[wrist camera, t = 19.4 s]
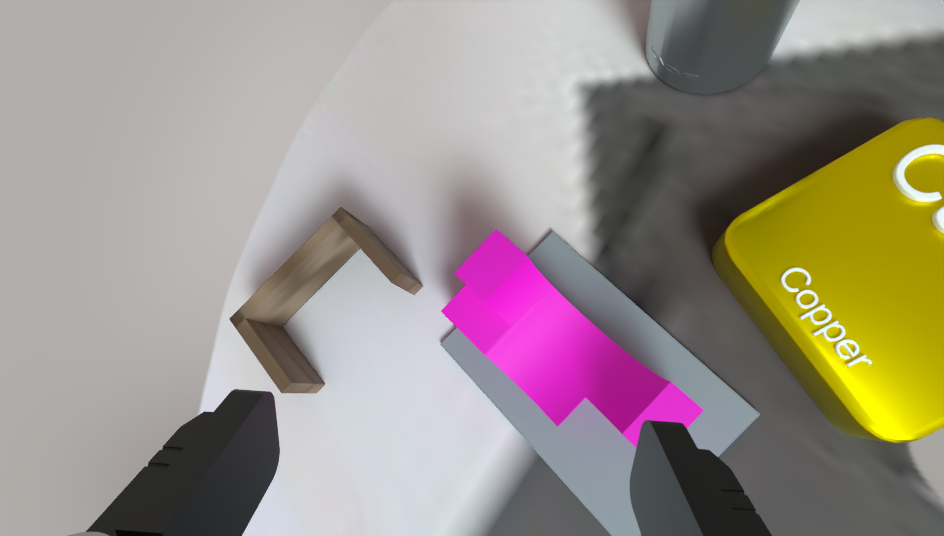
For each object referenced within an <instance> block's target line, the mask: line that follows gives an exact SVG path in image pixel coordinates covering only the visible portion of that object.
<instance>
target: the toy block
mask: <svg viewBox="0 0 944 536" xmlns="http://www.w3.org/2000/svg"><path fill="white" fill-rule="evenodd" d="M454 274H455V275H456V276H457V277H458V278H459V279H461V280H462V281H463V282H464V283H465V284H466V285H465V286H464V287H463V288H462V289H461V290H460V291H459V292H458V294H457V295H456V296H455V297H454V298H453V299H452V300H451V301H450V302H449V303H448V304H447V305H446V306H445V307H444V308H443V309H442V310H441V312H442V313H443V314H444V315H445V316H446V317H447V318H448V319H449V320H450V321H451V322H452V323H453V324H454V325H455V326H456V327H457V328H458V329H459V330H460V331H461V332H462V333H463V334H464V335H465V336H466V337H467V338H468V339H469V340H470V341H471V342H472V343H473V344H474V345H475V346H476V347H477V348H478V349H479V350H480V351H481V352H482V353H483V354H484V355H485V356H486V357H487V358H488V359H490V360H491V361H492V362H493V363H494V364H495V365H496V366H497V367H499V368H500V369H501V370H502V371H503V372H504V373H505V374H506V375H507V376H508V377H509V378H510V379H511V380H512V381H513V382H515V383H516V384H517V385H518V386H519V387H520V388H521V389H522V390H523V391H524V392H525V393H526V394H527V395H528V396H529V397H530V398H531V399H532V400H533V401H534V402H535V403H536V404H537V405H538V407H539V408H540V409H541V410H542V411H543V412H544V413H545V414H546V415H547V416H548V417H549V418H550V419H551V420H552V421H553V423H554V424H555V425H556V426H559V425H560V424H562V423H563V421H564V420H565V419H566V418H567V417H568V416H569V415H570V414H571V413H572V412H573V411H574V410H575V409H576V408H577V406H578V405H579V404H580V403H581V402H582V401H583V400H584V399H585V398H587V399H588V400H589V401H590V402H591V403H592V404H593V405H594V406H595V407H596V408H597V409H598V410H599V411H600V412H601V413H602V414H603V415H604V416H605V417H606V418H607V419H608V420H609V421H610V422H611V423H612V424H613V425H614V426H615V427H616V428H617V429H618V430H619V432H620V433H621V434H622V435H623V436H624V437H625V438H626V439H627V440H628V441H630V442H631V443H632V444H633V445H634V446H635V447H636V448H637V443H638V439H639V434H640V430H641V426H642V424H643V422H644V421H645V420H652V421H666V422H680V423H683V424H684V425H685V427H686V428H688V427H689V426H690V425H691V424H692V423H693V422H694V421H695V420H696V418H697V417H698V416H699V415H700V414H701V413H702V412H703V411H704V410H703V409H702V408H701V407H700V406H699V405H697V404H696V403H695V402H694V401H693V400H692V399H691V398H689V397H688V396H687V395H686V394H685V393H684V392H682V391H681V390H680V389H679V388H678V387H677V386H676V385H674V384H673V383H672V382H671V381H668V380H666V379H664V378H662V377H660V376H659V375H657V374H655V373H654V372H652V371H651V370H649V369H648V368H647V367H645V366H644V365H642V364H641V363H640V362H638V361H637V360H636V359H634V358H633V357H632V356H631V355H629V354H628V353H627V352H625V351H624V350H623V349H622V348H621V347H619V346H618V345H617V344H616V343H614V342H613V341H612V340H611V339H610V338H608V337H607V336H606V335H605V334H604V333H603V332H601V331H600V330H599V329H598V328H597V327H596V326H595V325H593V324H592V323H591V322H590V321H589V320H588V319H587V318H586V317H585V316H583V315H582V314H581V313H580V312H579V311H578V310H577V309H576V308H575V307H574V306H573V305H572V304H571V303H570V302H569V301H568V300H566V299H565V298H564V297H563V296H562V295H561V294H560V293H559V292H558V291H557V290H556V289H555V288H554V287H553V285H552V284H551V283H550V282H549V281H548V280H547V279H546V278H545V277H544V276H543V275H542V274H541V273H540V271H539V270H538V269H537V268H536V267H535V266H534V264H533V263H532V262H531V260H530V259H529V258H528V256H527V255H526V254H524V253H523V252H522V251H521V250H520V249H519V248H517V247H516V246H515V245H514V244H513V243H512V242H511V241H509V240H508V239H507V238H506V237H505V236H504V235H503V234H501V233H500V232H499V231H498V230H497V229H495V231H494V232H493V233H492V234H491V235H490V236H489V237H488V238H487V239H486V240H485V241H484V242H483V243H482V244H481V245H480V246H479V247H478V249H477V250H476V251H475V252H474V253H473V254H472V255H471V256H470V257H469V258H468V259H467V260H466V261H465V262H464V263H463V264H462V265H461V266H460V268H459V269H458V270H457V271H456V272H455V273H454Z"/></svg>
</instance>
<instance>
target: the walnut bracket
mask: <svg viewBox="0 0 944 536" xmlns="http://www.w3.org/2000/svg"><path fill="white" fill-rule="evenodd" d="M360 248H361V249H362V251H363V252H364V253H365V254H366V255H367V256H368V257H369V258H370V259H371V261H372V262H373V263H374V264H375V265H376V266H377V267H378V268H379V269H380V270H381V272H382V273H383V274H384V275H385V276H386V277H387V278H388V279H389V280H390V282H391V283H393V284H395V285H397V286H398V287H400V288H402V289H404V290H406V291H408V292H409V293H411V294H413V295H415V294H416V293H417V292H418V291H419V290H420V289H421V288H422V287H423V285H422V284H421V283H420V282H419V281H418V280H417V279H416V278H415V277H414V276H413V275H412V274H411V273H410V272H409V270H408V269H407V268H406V267H405V266H404V265H403V264H402V263H401V262H400V261H399V260H398V259H397V258H396V257H395V255H394V254H393V253H392V252H391V251H390V250H389V249H388V248H387V247H386V246H385V245H384V244H383V243H382V242H381V240H380V239H379V238H378V237H377V236H376V235H375V234H374V233H373V232H372V231H371V230H370V229H369V228H368V227H367V226H366V225H365V224H363V223H362V222H361V221H359V220H358V219H357V218H355V217H354V216H353V215H351V214H350V213H348V212H347V211H346V210H344V209H343V208H342V207H340V208H339V209H338V210H337V211H336V212H335V213H334V214H333V215H332V216H331V217H330V218H329V219H328V220H327V222H326V223H325V224H324V225H323V226H322V227H321V228H320V229H319V230H318V231H317V232H316V233H315V234H314V235H313V236H312V237H311V238H310V239H309V240H308V241H307V242H306V243H305V244H304V245H303V246H302V247H301V248H300V249H299V250H298V251H297V252H296V253H295V254H294V255H293V256H292V257H291V258H290V259H289V260H288V261H287V262H286V263H285V264H284V265H283V266H282V267H281V268H280V269H279V270H278V271H277V272H276V273H275V274H274V275H273V276H272V277H271V278H270V279H269V280H268V281H267V282H266V283H265V284H264V285H263V286H262V287H261V288H260V289H259V290H258V291H257V292H256V293H255V294H254V295H253V296H252V297H251V298H250V299H249V300H248V301H247V302H246V303H245V304H244V305H243V306H242V307H241V308H240V309H239V310H238V311H237V312H236V313H235V314H234V315H233V316H232V317H231V318H230V321H231V322H232V323H233V325H234V326H235V328H236V329H237V330H238V332H239V333H240V335H241V336H242V338H243V339H244V340H245V342H246V343H247V345H248V346H249V348H250V349H251V350H252V352H253V353H254V355H255V356H256V357H257V359H258V360H259V362H260V363H261V365H262V366H263V367H264V369H265V370H266V372H267V373H268V375H269V376H270V377H271V379H272V380H273V382H274V383H275V384H276V386H277V387H278V389H279V390H280V392H281V393H317V392H318V391H319V390H320V389H321V388H322V387H323V386H324V385H325V384H324V382H323V381H322V380H321V378H320V377H319V376H318V374H317V373H316V372H315V370H314V369H313V368H312V366H311V365H310V364H309V362H308V361H307V360H306V358H305V357H304V356H303V354H302V353H301V352H300V350H299V349H298V348H297V346H296V345H295V344H294V342H293V341H292V340H291V338H290V337H289V336H288V334H287V333H286V332H285V330H284V329H283V328H282V326H283V325H284V324H285V323H286V322H287V321H288V320H289V319H290V318H291V317H292V316H293V315H294V314H295V313H296V312H297V311H298V310H299V309H300V308H301V307H302V306H303V305H304V304H305V303H306V302H307V301H308V300H309V299H310V298H311V297H312V296H313V295H314V294H315V293H316V292H317V291H318V290H319V289H320V288H321V287H322V286H323V285H324V284H325V283H326V282H327V281H328V280H329V279H330V278H331V277H332V276H333V275H334V274H335V273H336V272H337V271H338V270H339V269H340V268H341V267H342V266H343V265H344V264H345V263H346V262H347V261H348V260H349V259H350V258H351V257H352V256H353V255H354V254H355V253H356V252H357V251H358V250H359V249H360Z"/></svg>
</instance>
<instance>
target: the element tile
mask: <svg viewBox="0 0 944 536" xmlns="http://www.w3.org/2000/svg"><path fill="white" fill-rule="evenodd" d="M711 257H712V261H713V266H714V268H715V270H716V271H717V273H718V275H719V276H720V278H721V279H722V280H723V282H724V283H725V284H726V286H727V287H728V288H729V290H730V291H731V292H732V294H733V295H734V296H735V298H736V299H737V300H738V301H739V303H740V304H741V305H742V307H743V308H744V309H745V311H746V312H747V313H748V315H749V316H750V317H751V319H752V320H753V321H754V323H755V324H756V325H757V327H758V328H759V329H760V331H761V332H762V333H763V335H764V336H765V337H766V339H767V340H768V341H769V343H770V344H771V345H772V347H773V348H774V349H775V351H776V352H777V353H778V355H779V356H780V357H781V358H782V360H783V361H784V362H785V364H786V365H787V366H788V368H789V369H790V370H791V372H792V373H793V374H794V376H795V377H796V378H797V380H798V381H799V382H800V384H801V385H802V386H803V388H804V389H805V390H806V392H807V393H808V394H809V396H810V397H811V398H812V400H813V401H814V402H815V404H816V405H817V406H818V408H819V409H820V410H821V411H822V413H823V414H824V415H825V417H826V418H827V419H828V420H829V421H830V422H831V423H832V424H833V425H834V426H836V427H837V428H839V429H840V430H842V431H843V432H845V433H846V434H849V435H852V436H856V437H859V438H865V439H871V440H877V441H883V442H889V443H904V442H912V441H915V440H918V439H921V438H923V437H925V436H928V435H929V434H932V433H933V432H935V431H937V430H939V429H941V428H943V427H944V121H942V120H940V119H937V118H928V117H921V118H915V119H910V120H907V121H904V122H901V123H899V124H897V125H895V126H894V127H892V128H890V129H888V130H887V131H885V132H883V133H882V134H880V135H878V136H876V137H875V138H873V139H871V140H869V141H868V142H866V143H864V144H862V145H861V146H859V147H857V148H855V149H854V150H852V151H850V152H848V153H847V154H845V155H843V156H842V157H840V158H838V159H836V160H835V161H833V162H831V163H829V164H828V165H826V166H824V167H822V168H821V169H819V170H817V171H815V172H814V173H812V174H810V175H808V176H807V177H805V178H803V179H802V180H800V181H798V182H796V183H795V184H793V185H791V186H789V187H788V188H786V189H784V190H782V191H781V192H779V193H777V194H775V195H774V196H772V197H770V198H768V199H767V200H765V201H763V202H762V203H760V204H758V205H756V206H755V207H753V208H751V209H749V210H748V211H746V212H744V213H742V214H741V215H739V216H738V217H737V218H735V219H734V220H733V221H732V222H731V223H730V225H729V226H728V227H727V229H726V230H725V231H724V233H723V234H722V235H721V237H720V238H719V239H718V241H717V242H716V243H715V245H714V246H713V250H712V255H711Z"/></svg>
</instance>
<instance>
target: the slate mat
mask: <svg viewBox="0 0 944 536" xmlns="http://www.w3.org/2000/svg"><path fill="white" fill-rule="evenodd" d="M528 258H529V259H530V260H531V262H532V263H533V264H534V266H535V267H536V268H537V269H538V270H539V271H540V273H541V274H542V275H543V276H544V277H545V278H546V279H547V280H548V281H549V282H550V283H551V284H552V285H553V287H554V288H555V289H556V290H557V291H558V292H559V293H560V294H561V295H562V296H563V297H564V298H565V299H566V300H568V301H569V302H570V303H571V304H572V305H573V306H574V307H575V308H576V309H577V310H578V311H579V312H580V313H581V314H582V315H583V316H585V317H586V318H587V319H588V320H589V321H590V322H591V323H592V324H593V325H595V326H596V327H597V328H598V329H599V330H600V331H601V332H603V333H604V334H605V335H606V336H607V337H608V338H610V339H611V340H612V341H613V342H614V343H616V344H617V345H618V346H619V347H621V348H622V349H623V350H624V351H625V352H627V353H628V354H629V355H631V356H632V357H633V358H634V359H636V360H637V361H638V362H640V363H641V364H642V365H644V366H645V367H647V368H648V369H649V370H651V371H652V372H654V373H655V374H657V375H659V376H660V377H662V378H664V379H666V380H668V381H671V382H672V383H673V384H674V385H676V386H677V387H678V388H679V389H680V390H681V391H682V392H684V393H685V394H686V395H687V396H688V397H689V398H691V399H692V400H693V401H694V402H695V403H696V404H697V405H699V406H700V407H701V408H702V409H703V410H704V411H703V412H702V413H701V414H700V415H699V416H698V417H697V418H696V420H695V421H694V422H693V423H692V424H691V425H690V426H689V427H688V428H687V430H688V432H689V433H690V435H691V437H692V439H693V441H694V442H695V444H696V446H697V448H698V449H707V450H710V451H711V452H712V453H714V454H715V455H716V456H717V457H718V456H719V455H720V454H721V453H722V452H723V451H724V450H725V449H726V448H727V447H728V446H729V445H730V444H731V443H732V442H733V441H734V440H735V439H736V438H737V437H738V436H739V435H740V434H741V433H742V432H743V431H744V430H745V429H746V428H747V427H748V426H749V425H750V424H751V423H752V422H753V421H754V420H755V419H756V418H757V417H758V416H759V415H760V414H759V413H758V412H757V411H756V410H755V409H754V408H752V407H751V406H750V405H749V404H748V403H747V402H746V401H745V400H743V399H742V398H741V397H740V396H739V395H738V394H737V393H735V392H734V391H733V390H732V389H731V388H730V387H729V386H728V385H726V384H725V383H724V382H723V381H722V380H721V379H720V378H718V377H717V376H716V375H715V374H714V373H713V372H712V371H710V370H709V369H708V368H707V367H706V366H705V365H704V364H703V363H701V362H700V361H699V360H698V359H697V358H696V357H695V356H693V355H692V354H691V353H690V352H689V351H688V350H687V349H686V348H684V347H683V346H682V345H681V344H680V343H679V342H678V341H676V340H675V339H674V338H673V337H672V336H671V335H670V334H669V333H667V332H666V331H665V330H664V329H663V328H662V327H661V326H659V325H658V324H657V323H656V322H655V321H654V320H653V319H651V318H650V317H649V316H648V315H647V314H646V313H645V312H644V311H642V310H641V309H640V308H639V307H638V306H637V305H636V304H634V303H633V302H632V301H631V300H630V299H629V298H628V297H627V296H625V295H624V294H623V293H622V292H621V291H620V290H619V289H617V288H616V287H615V286H614V285H613V284H612V283H611V282H610V281H608V280H607V279H606V278H605V277H604V276H603V275H602V274H600V273H599V272H598V271H597V270H596V269H595V268H594V267H592V266H591V265H590V264H589V263H588V262H587V261H586V260H585V259H583V258H582V257H581V256H580V255H579V254H578V253H577V252H575V251H574V250H573V249H572V248H571V247H570V246H569V245H568V244H566V243H565V242H564V241H563V240H562V239H561V238H560V237H558V236H557V235H556V234H555V233H554V232H552V233H551V234H550V235H549V236H548V237H547V238H546V239H545V240H544V241H543V242H542V243H541V244H540V245H539V246H538V247H537V248H536V249H535V250H534V251H533V252H532V253H531V254H530V255H529V256H528ZM440 345H441V346H442V347H443V348H444V349H445V350H446V351H447V352H448V353H449V355H450V356H451V357H452V358H453V359H454V360H455V361H456V362H457V363H458V365H459V366H460V367H461V368H462V369H463V370H464V371H465V372H466V374H467V375H468V376H469V377H470V378H471V379H472V380H473V381H474V382H475V384H476V385H477V386H478V387H479V388H480V389H481V390H482V391H483V393H484V394H485V395H486V396H487V397H488V398H489V399H490V400H491V401H492V403H493V404H494V405H495V406H496V407H497V408H498V409H499V410H500V411H501V413H502V414H503V415H504V416H505V417H506V418H507V419H508V420H509V422H510V423H511V424H512V425H513V426H514V427H515V428H516V429H517V430H518V432H519V433H520V434H521V435H522V436H523V437H524V438H525V439H526V441H527V442H528V443H529V444H530V445H531V446H532V447H533V448H534V449H535V451H536V452H537V453H538V454H539V455H540V456H541V457H542V458H543V459H544V461H545V462H546V463H547V464H548V465H549V466H550V467H551V468H552V470H553V471H554V472H555V473H556V474H557V475H558V476H559V477H560V478H561V480H562V481H563V482H564V483H565V484H566V485H567V486H568V487H569V489H570V490H571V491H572V492H573V493H574V494H575V495H576V496H577V497H578V499H579V500H580V501H581V502H582V503H583V504H584V505H585V506H586V507H587V509H588V510H589V511H590V512H591V513H592V514H593V515H594V516H595V518H596V519H597V520H598V521H599V522H600V523H601V524H602V525H603V526H604V528H605V529H606V530H607V531H608V532H609V533H610V534H611V535H612V536H640V535H641V532H640V529H639V526H638V523H637V520H636V517H635V514H634V511H633V508H632V504H631V499H630V475H631V470H632V466H633V461H634V457H635V452H636V447H635V446H634V445H633V444H632V443H631V442H630V441H628V440H627V439H626V438H625V437H624V436H623V435H622V434H621V433H620V432H619V430H618V429H617V428H616V427H615V426H614V425H613V424H612V423H611V422H610V421H609V420H608V419H607V418H606V417H605V416H604V415H603V414H602V413H601V412H600V411H599V410H598V409H597V408H596V407H595V406H594V405H593V404H592V403H591V402H590V401H589V400H588V399H587V398H585V399H584V400H583V401H582V402H581V403H580V404H579V405H578V406H577V408H576V409H575V410H574V411H573V412H572V413H571V414H570V415H569V416H568V417H567V418H566V419H565V420H564V421H563V423H562V424H560V425H559V426H556V425H555V424H554V423H553V421H552V420H551V419H550V418H549V417H548V416H547V415H546V414H545V413H544V412H543V411H542V410H541V409H540V408H539V407H538V405H537V404H536V403H535V402H534V401H533V400H532V399H531V398H530V397H529V396H528V395H527V394H526V393H525V392H524V391H523V390H522V389H521V388H520V387H519V386H518V385H517V384H516V383H515V382H513V381H512V380H511V379H510V378H509V377H508V376H507V375H506V374H505V373H504V372H503V371H502V370H501V369H500V368H499V367H497V366H496V365H495V364H494V363H493V362H492V361H491V360H490V359H488V358H487V357H486V356H485V355H484V354H483V353H482V352H481V351H480V350H479V349H478V348H477V347H476V346H475V345H474V344H473V343H472V342H471V341H470V340H469V339H468V338H467V337H466V336H465V335H464V334H463V333H462V332H461V331H460V330H459V329H458V328H456V329H455V330H454V331H453V332H452V333H451V334H450V335H449V336H448V337H447V338H446V339H445V340H444V341H443V342H442V343H441V344H440Z"/></svg>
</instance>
